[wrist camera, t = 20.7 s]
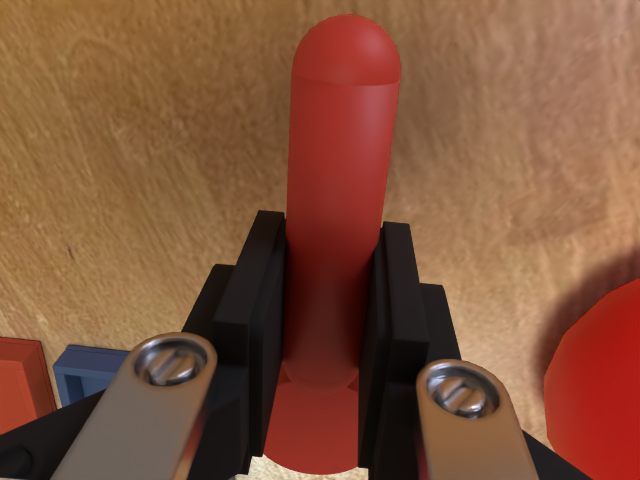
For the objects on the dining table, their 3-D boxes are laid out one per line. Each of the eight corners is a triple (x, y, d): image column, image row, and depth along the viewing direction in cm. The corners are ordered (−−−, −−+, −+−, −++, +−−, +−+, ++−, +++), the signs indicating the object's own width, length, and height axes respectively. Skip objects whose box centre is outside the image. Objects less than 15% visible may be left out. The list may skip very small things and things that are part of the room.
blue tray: (68, 344, 32) (51, 365, 30) (232, 363, 31) (224, 385, 30) (100, 496, 39) (88, 520, 37) (234, 513, 38) (228, 538, 37)
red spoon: (260, 2, 9) (238, 11, 7) (445, 17, 9) (463, 28, 7) (256, 430, 14) (242, 489, 12) (374, 442, 14) (375, 504, 12)
